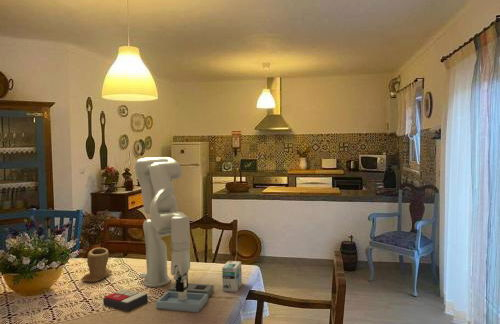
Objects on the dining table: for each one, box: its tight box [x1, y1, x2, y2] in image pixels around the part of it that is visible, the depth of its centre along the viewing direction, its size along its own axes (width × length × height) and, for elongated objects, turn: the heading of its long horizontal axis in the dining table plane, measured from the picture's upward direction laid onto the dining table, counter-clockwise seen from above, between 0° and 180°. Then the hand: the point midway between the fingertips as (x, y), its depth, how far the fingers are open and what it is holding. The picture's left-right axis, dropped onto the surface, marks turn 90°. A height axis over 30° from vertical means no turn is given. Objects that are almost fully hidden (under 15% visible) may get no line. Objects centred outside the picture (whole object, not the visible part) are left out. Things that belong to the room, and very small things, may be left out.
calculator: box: [102, 288, 149, 313], centre depth 164 cm, size 11×4×15 cm
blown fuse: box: [178, 274, 187, 301], centre depth 161 cm, size 4×4×10 cm
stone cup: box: [81, 247, 113, 283], centre depth 195 cm, size 15×12×15 cm
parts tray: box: [155, 290, 209, 313], centre depth 161 cm, size 18×11×3 cm, turn 77°
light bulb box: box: [221, 260, 243, 293], centre depth 179 cm, size 11×7×11 cm, turn 168°
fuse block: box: [167, 282, 214, 298], centre depth 173 cm, size 18×8×3 cm, turn 77°
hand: (182, 289), depth 161 cm, fingers closed on blown fuse, 3 cm apart
